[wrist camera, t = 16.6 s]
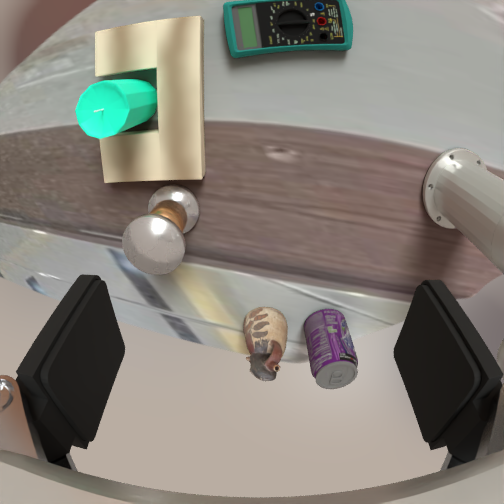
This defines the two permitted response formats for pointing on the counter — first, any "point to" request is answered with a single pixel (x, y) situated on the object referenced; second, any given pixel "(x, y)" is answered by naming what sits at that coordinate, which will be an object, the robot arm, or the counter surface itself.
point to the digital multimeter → (287, 26)
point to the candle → (115, 106)
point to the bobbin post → (161, 230)
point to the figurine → (265, 341)
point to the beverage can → (330, 349)
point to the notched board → (158, 99)
